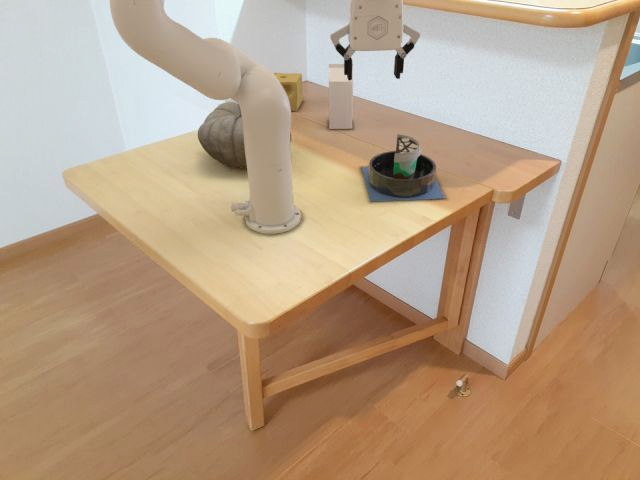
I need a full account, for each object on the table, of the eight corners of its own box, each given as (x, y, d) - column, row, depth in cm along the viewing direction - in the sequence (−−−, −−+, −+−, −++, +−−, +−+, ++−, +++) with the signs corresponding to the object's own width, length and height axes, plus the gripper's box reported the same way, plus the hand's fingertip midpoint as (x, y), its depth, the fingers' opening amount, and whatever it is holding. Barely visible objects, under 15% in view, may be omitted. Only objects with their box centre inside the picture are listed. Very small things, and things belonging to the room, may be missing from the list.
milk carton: (352, 129, 159) (353, 67, 148) (329, 129, 159) (328, 67, 148) (351, 120, 165) (352, 60, 154) (329, 121, 165) (328, 60, 154)
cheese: (268, 110, 173) (265, 81, 167) (275, 99, 182) (273, 71, 176) (298, 112, 172) (296, 82, 166) (304, 100, 180) (303, 72, 175)
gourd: (210, 180, 127) (205, 109, 120) (191, 157, 147) (186, 95, 140) (304, 171, 136) (304, 104, 129) (274, 150, 157) (272, 91, 150)
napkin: (370, 201, 122) (370, 200, 122) (361, 167, 137) (361, 166, 137) (444, 198, 123) (445, 197, 123) (427, 165, 138) (428, 164, 138)
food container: (417, 193, 124) (421, 156, 119) (391, 191, 125) (394, 154, 120) (418, 170, 134) (422, 134, 129) (394, 169, 135) (397, 133, 130)
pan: (373, 200, 123) (374, 181, 120) (364, 169, 137) (365, 151, 134) (440, 197, 124) (443, 179, 121) (425, 166, 137) (427, 149, 134)
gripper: (331, -12, 90) (331, 84, 100) (428, -14, 91) (419, 82, 101) (328, -19, 97) (329, 73, 106) (419, -21, 97) (411, 70, 107)
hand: (373, 77), depth 104 cm, fingers open, 9 cm apart
